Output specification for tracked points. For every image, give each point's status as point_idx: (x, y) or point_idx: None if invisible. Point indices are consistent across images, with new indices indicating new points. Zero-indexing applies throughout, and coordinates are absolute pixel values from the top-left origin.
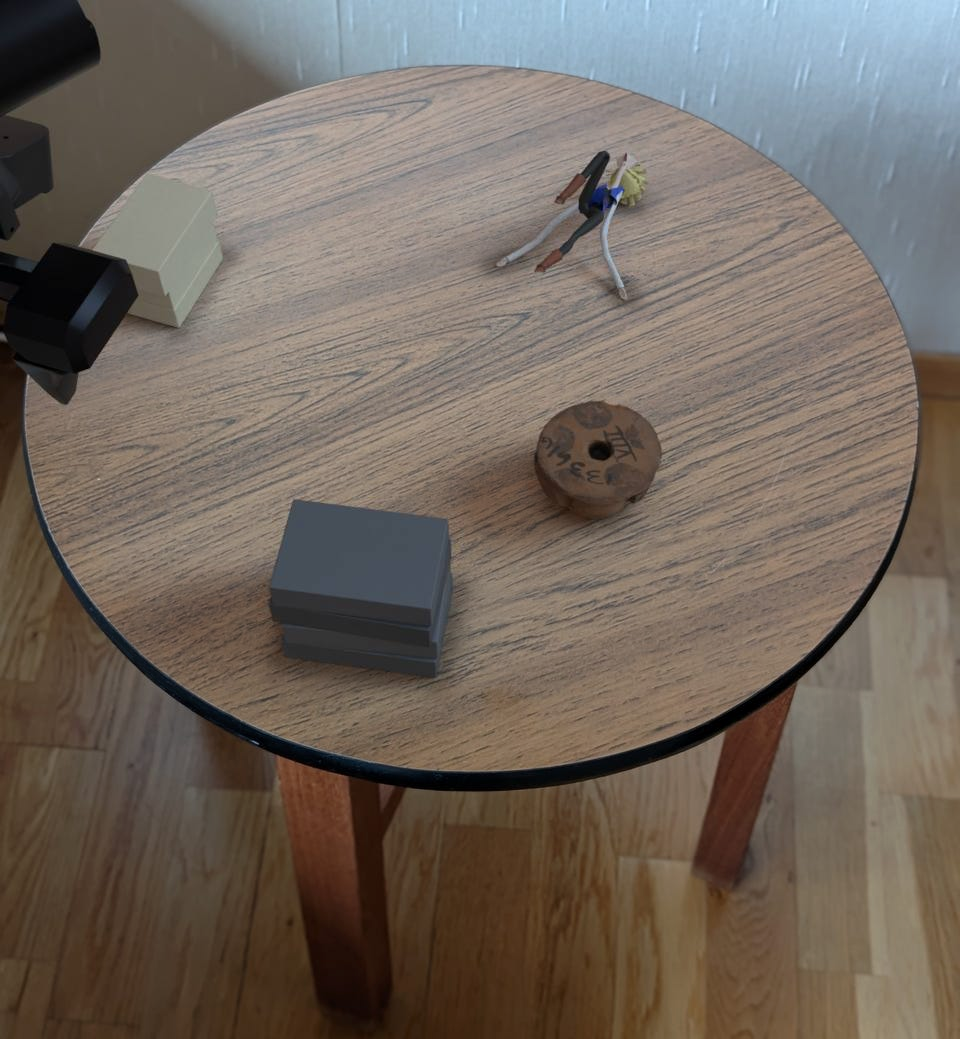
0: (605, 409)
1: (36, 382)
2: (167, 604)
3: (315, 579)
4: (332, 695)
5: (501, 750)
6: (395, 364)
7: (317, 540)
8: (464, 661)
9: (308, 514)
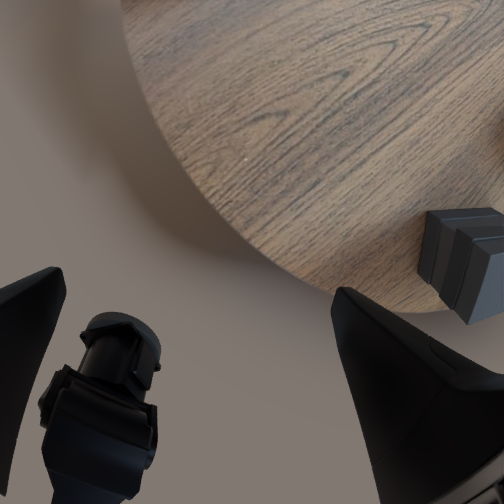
0: None
1: (358, 417)
2: (341, 259)
3: (490, 310)
4: None
5: None
6: (444, 20)
7: (496, 283)
8: None
9: (496, 265)
